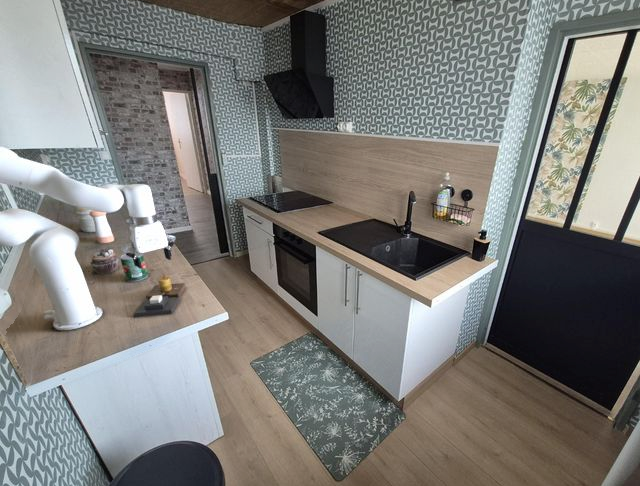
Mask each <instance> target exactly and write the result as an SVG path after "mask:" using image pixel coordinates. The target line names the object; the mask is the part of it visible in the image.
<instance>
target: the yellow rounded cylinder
mask: <svg viewBox="0 0 640 486" xmlns="http://www.w3.org/2000/svg"><path fill="white" fill-rule="evenodd" d="M157 281H158V285H159V286H160V290H161V291H162V292H167V291H170V290H171V289H172V285H171V284H172V281H171V277H170V276H169V275H163V276H161V277H159V278H158V279H157Z"/></svg>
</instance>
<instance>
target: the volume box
mask: <svg viewBox="0 0 640 486" xmlns="http://www.w3.org/2000/svg"><path fill="white" fill-rule="evenodd" d="M171 285H172V289H171V290H170V291H167V292H162V291H161V290H160V286H159V284H155V285H154V286H153V288H152V289H151V290H150V291H149V293H148V294H147V295H146V296H145V297H146V300H149V299H150V297H152V296H158V295H162V296H168V298H174V297H179V300H180V298H181V297H182V295H183V293H184V292H185V290H186V288H187V287H186V283H185V282H182V283H181V282H179V283H171Z"/></svg>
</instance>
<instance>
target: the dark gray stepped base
mask: <svg viewBox="0 0 640 486" xmlns="http://www.w3.org/2000/svg"><path fill="white" fill-rule="evenodd" d="M150 299H151V297H150ZM150 299H149V300H150ZM149 300H147V299H144V300H143V301H142V302H141V303H140V304H139V306H138V307H137V309H136V310H135V311H134V312H133V316H134V318H142V317H151V316H162V315H171V314H173V313H174V311H175V309H176V308H177V306H178V305H179V303H180V301H181V300H180V299H179V297H174V298H168V296H162V301H161V302H160V303H154V304H150V301H149Z"/></svg>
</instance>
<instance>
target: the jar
mask: <svg viewBox="0 0 640 486" xmlns="http://www.w3.org/2000/svg"><path fill="white" fill-rule="evenodd" d="M90 211H92V210H89V209H85V208H81V207H77V206H76V211H75V214H77V219H78V222H79V224H80V229H81V231H82V232H84V233H96V232H95V225H94V221H93V217H92V216H90V214H89V213H90ZM105 216H106V220H107V223H108V224H109V222H108V219H107V214H106V215H105Z"/></svg>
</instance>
